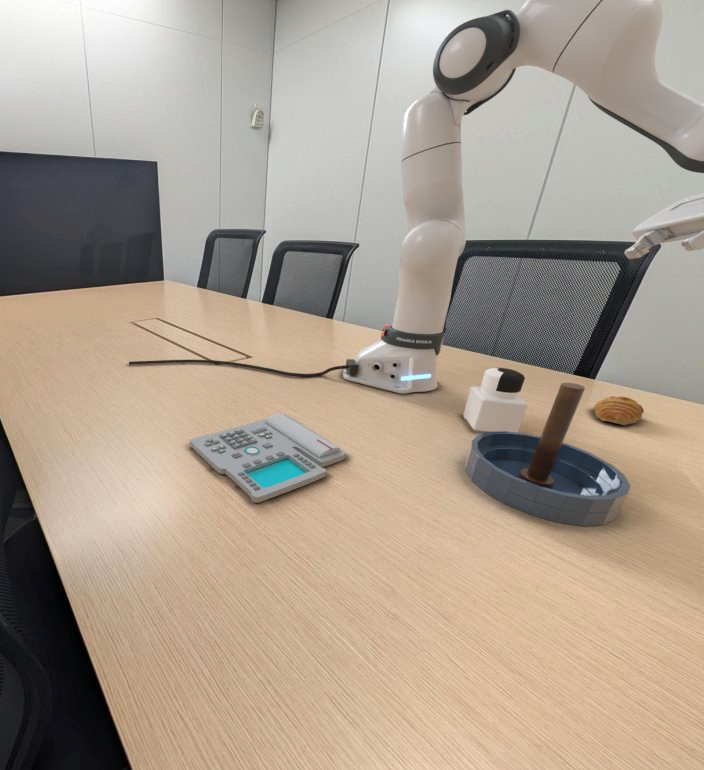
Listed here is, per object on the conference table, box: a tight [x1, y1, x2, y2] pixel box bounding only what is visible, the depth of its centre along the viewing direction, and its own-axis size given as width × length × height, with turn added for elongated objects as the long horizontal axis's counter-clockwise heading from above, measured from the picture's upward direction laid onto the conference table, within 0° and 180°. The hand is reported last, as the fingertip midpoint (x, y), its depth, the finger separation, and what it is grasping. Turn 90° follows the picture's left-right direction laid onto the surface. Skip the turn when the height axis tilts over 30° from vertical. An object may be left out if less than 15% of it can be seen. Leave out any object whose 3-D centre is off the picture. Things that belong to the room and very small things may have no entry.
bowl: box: [464, 431, 632, 527], centre depth 57 cm, size 18×18×5 cm
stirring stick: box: [518, 382, 586, 489], centre depth 55 cm, size 4×4×17 cm
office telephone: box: [189, 413, 346, 504], centre depth 68 cm, size 23×3×20 cm
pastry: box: [594, 395, 645, 426], centre depth 77 cm, size 9×7×4 cm
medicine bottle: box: [462, 367, 528, 433], centre depth 73 cm, size 7×7×12 cm
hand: (657, 251), depth 56 cm, fingers open, 8 cm apart
